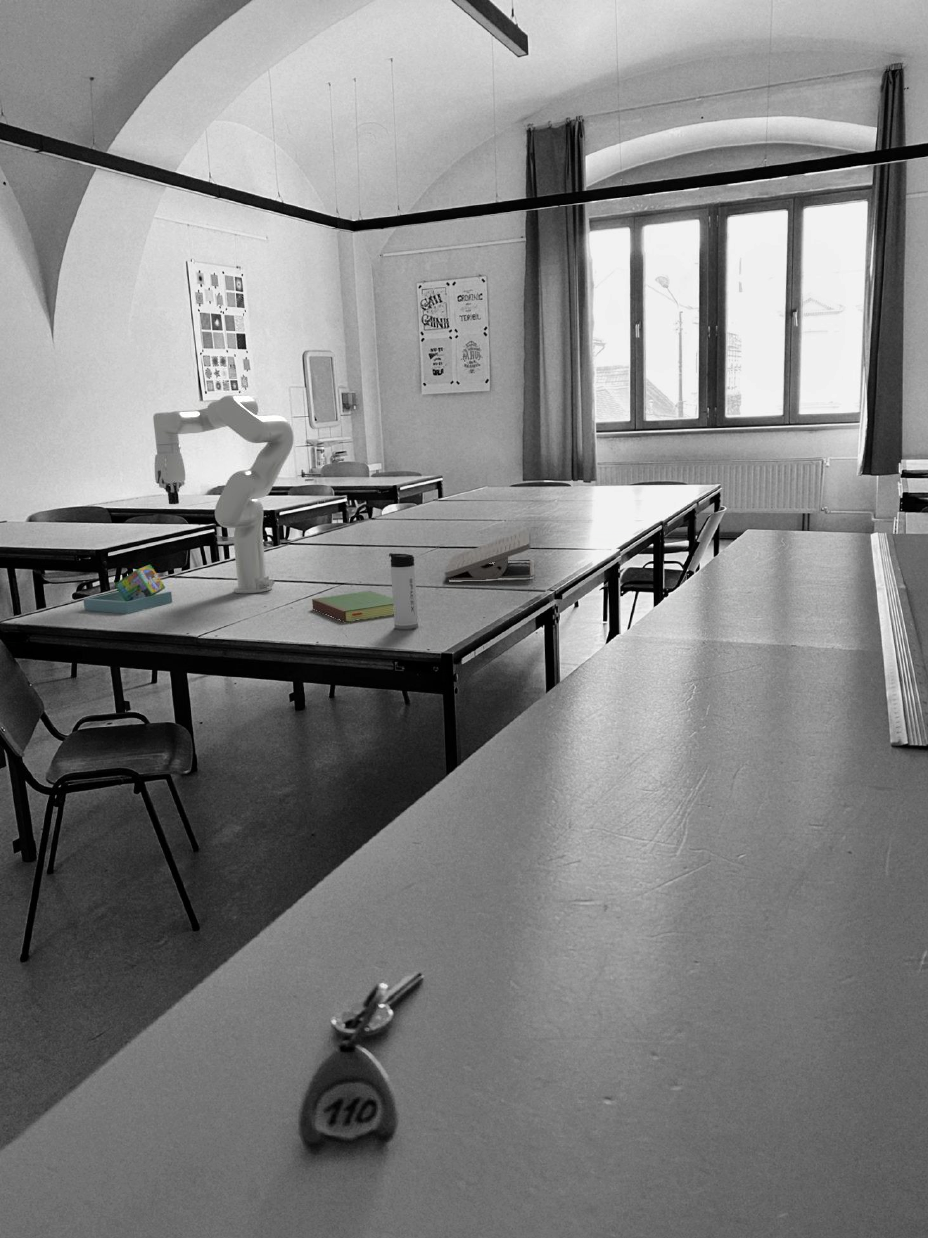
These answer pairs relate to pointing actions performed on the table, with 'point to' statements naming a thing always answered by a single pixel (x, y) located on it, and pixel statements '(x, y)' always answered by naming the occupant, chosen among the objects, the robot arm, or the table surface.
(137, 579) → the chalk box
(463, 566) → the foot rest
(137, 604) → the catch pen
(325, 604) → the hardcover book
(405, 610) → the travel mug
